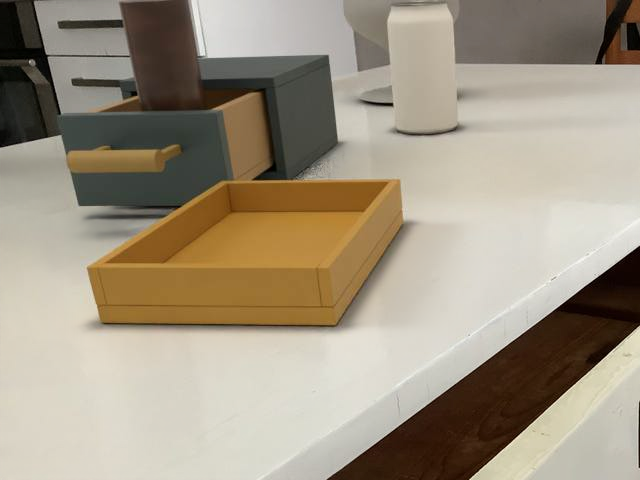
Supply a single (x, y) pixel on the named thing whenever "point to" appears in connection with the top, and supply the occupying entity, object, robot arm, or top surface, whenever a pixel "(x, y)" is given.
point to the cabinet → (279, 103)
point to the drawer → (166, 149)
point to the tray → (252, 255)
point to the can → (423, 67)
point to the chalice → (379, 31)
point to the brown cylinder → (163, 54)
